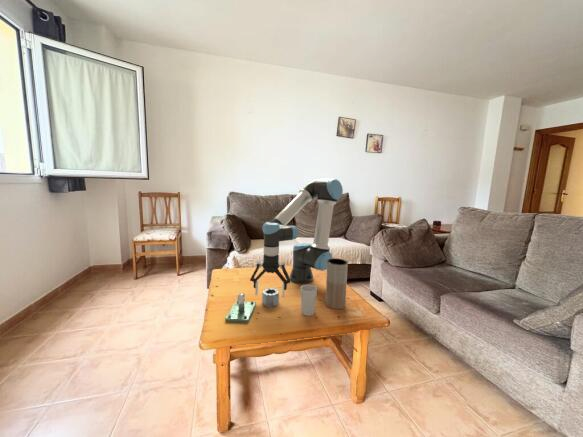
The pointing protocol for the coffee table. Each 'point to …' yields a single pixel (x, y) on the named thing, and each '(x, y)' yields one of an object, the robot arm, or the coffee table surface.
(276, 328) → the coffee table surface
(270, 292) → the ring
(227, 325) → the coffee table surface
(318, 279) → the coffee table surface
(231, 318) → the shaft stand
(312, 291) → the cup
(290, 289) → the coffee table surface
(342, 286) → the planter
